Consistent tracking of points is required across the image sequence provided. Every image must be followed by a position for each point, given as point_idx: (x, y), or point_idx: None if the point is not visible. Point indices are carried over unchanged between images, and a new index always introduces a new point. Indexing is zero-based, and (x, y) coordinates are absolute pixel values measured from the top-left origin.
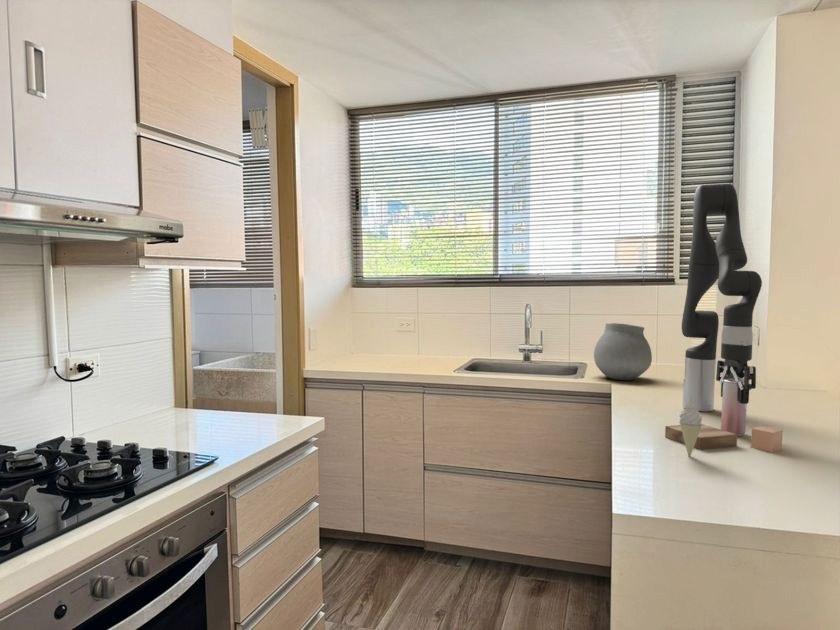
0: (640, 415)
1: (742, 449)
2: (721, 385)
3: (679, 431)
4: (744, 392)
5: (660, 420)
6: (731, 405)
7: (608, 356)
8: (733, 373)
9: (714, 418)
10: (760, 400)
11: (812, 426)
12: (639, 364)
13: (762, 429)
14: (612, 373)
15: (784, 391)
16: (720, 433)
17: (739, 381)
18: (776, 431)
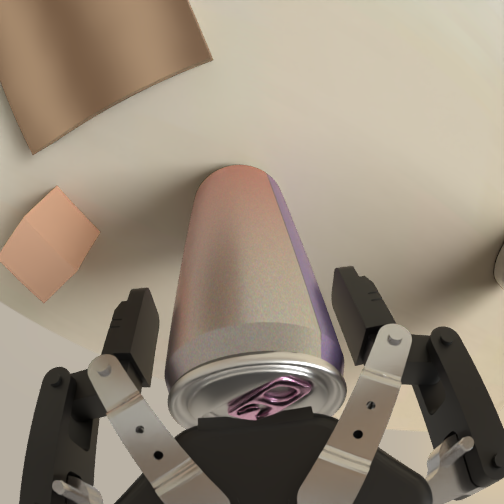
0: (494, 13)
1: (25, 147)
2: (378, 319)
3: None
4: (102, 350)
5: (440, 27)
6: (191, 247)
7: None
8: (181, 465)
9: (444, 245)
10: (493, 375)
11: None
12: None
13: (24, 247)
14: None
15: (498, 401)
16: (33, 92)
17: (114, 407)
18: (19, 277)
